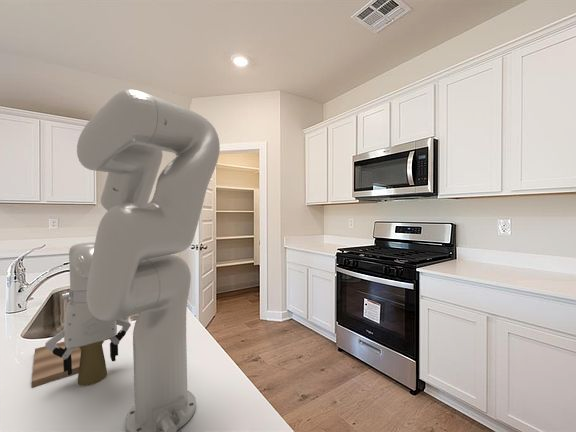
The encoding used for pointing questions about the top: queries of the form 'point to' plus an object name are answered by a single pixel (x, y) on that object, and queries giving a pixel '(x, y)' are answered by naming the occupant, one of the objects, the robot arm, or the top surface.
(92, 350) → the cork
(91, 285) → the robot arm
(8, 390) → the top surface
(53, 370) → the walnut board
